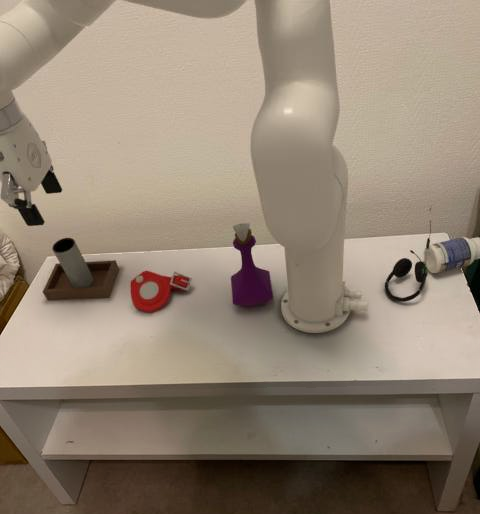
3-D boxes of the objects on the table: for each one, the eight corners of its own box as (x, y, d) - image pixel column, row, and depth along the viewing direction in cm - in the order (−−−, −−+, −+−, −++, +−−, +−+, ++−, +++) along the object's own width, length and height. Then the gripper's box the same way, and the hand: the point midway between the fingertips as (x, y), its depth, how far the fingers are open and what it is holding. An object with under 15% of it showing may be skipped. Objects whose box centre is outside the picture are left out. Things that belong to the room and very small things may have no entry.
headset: (455, 191, 83) (403, 291, 80) (465, 214, 88) (416, 309, 86) (418, 187, 87) (368, 282, 85) (430, 210, 93) (383, 299, 90)
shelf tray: (119, 269, 104) (115, 260, 102) (109, 297, 98) (105, 288, 96) (60, 272, 106) (55, 263, 104) (47, 300, 100) (42, 291, 98)
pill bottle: (439, 272, 86) (491, 260, 87) (433, 243, 86) (484, 231, 87) (426, 275, 92) (474, 263, 92) (420, 247, 92) (468, 235, 92)
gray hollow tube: (83, 272, 104) (63, 235, 96) (98, 278, 102) (79, 240, 94) (68, 286, 101) (47, 249, 94) (83, 292, 99) (63, 254, 92)
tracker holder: (143, 318, 91) (116, 283, 95) (151, 326, 95) (125, 293, 99) (193, 278, 93) (164, 246, 97) (199, 288, 97) (171, 257, 101)
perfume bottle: (233, 288, 95) (218, 213, 82) (270, 283, 95) (261, 206, 81) (235, 315, 90) (219, 241, 77) (274, 310, 90) (265, 234, 76)
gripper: (-4, 142, 68) (49, 236, 81) (38, 89, 80) (79, 179, 92) (-51, 147, 70) (8, 240, 82) (-3, 94, 81) (43, 183, 94)
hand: (45, 207), depth 87 cm, fingers open, 9 cm apart
